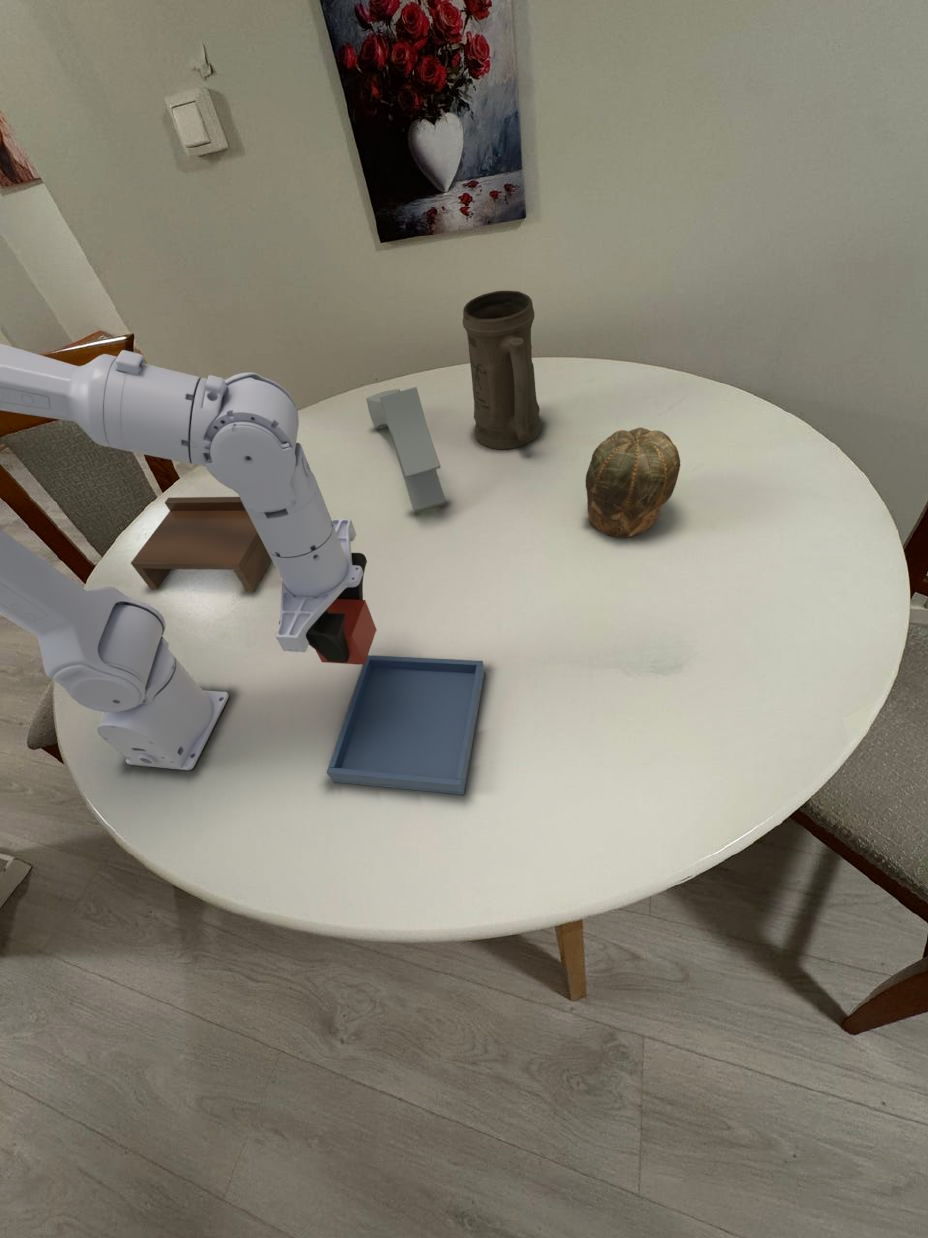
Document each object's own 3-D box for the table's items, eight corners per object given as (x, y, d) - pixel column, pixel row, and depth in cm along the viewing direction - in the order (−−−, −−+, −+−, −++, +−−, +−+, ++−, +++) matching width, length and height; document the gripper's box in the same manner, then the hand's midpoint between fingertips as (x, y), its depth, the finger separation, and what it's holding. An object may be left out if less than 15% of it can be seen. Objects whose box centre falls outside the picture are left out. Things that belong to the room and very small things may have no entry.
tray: (463, 795, 54) (460, 785, 53) (332, 782, 57) (326, 772, 56) (484, 671, 63) (482, 660, 62) (370, 665, 66) (366, 654, 65)
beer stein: (462, 425, 97) (446, 301, 82) (519, 404, 99) (514, 279, 84) (505, 475, 88) (497, 346, 73) (566, 450, 90) (571, 320, 74)
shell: (672, 547, 72) (686, 464, 63) (582, 544, 75) (583, 464, 66) (670, 493, 79) (682, 411, 70) (587, 492, 81) (589, 413, 72)
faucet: (393, 492, 105) (414, 524, 77) (364, 396, 98) (375, 394, 71) (426, 483, 105) (458, 511, 78) (399, 387, 99) (424, 380, 71)
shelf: (254, 592, 77) (233, 555, 72) (150, 589, 81) (123, 554, 76) (286, 532, 85) (269, 496, 80) (190, 531, 88) (168, 497, 83)
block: (364, 665, 56) (351, 635, 53) (321, 662, 57) (306, 633, 54) (376, 629, 59) (365, 599, 56) (335, 627, 60) (322, 598, 57)
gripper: (314, 601, 42) (363, 704, 52) (369, 479, 51) (402, 587, 61) (227, 597, 43) (291, 698, 53) (295, 480, 53) (339, 585, 63)
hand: (346, 639), depth 57 cm, fingers closed on block, 4 cm apart
